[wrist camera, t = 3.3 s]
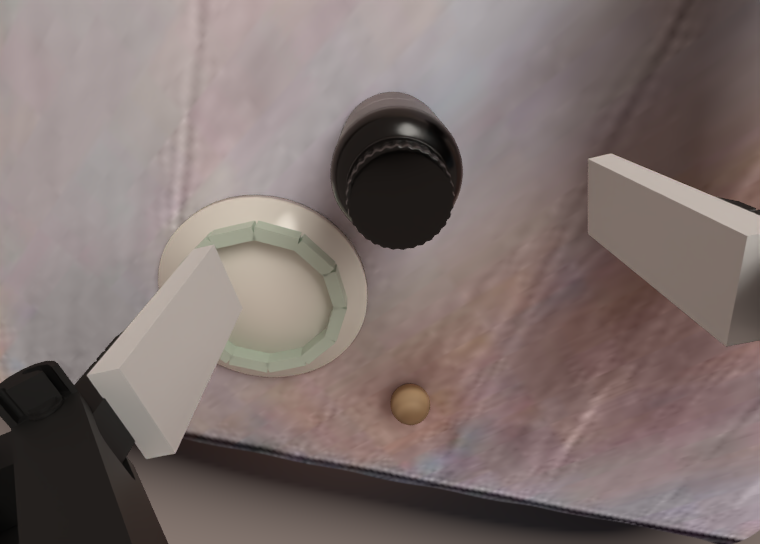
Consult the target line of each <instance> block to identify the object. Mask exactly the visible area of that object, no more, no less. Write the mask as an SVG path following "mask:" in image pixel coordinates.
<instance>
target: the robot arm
mask: <svg viewBox="0 0 760 544" xmlns="http://www.w3.org/2000/svg"><path fill="white" fill-rule="evenodd" d="M588 234H589V235H590V236H591V237H593V238H594V239H595V240H596V241H597V242H599V243H600V244H601V245H602V246H604V247H605V248H606V249H607V250H608V251H610V252H611V253H612V254H613V255H615V256H616V257H617V258H618V259H619V260H621V261H622V262H623V263H624V264H626V265H627V266H628V267H629V268H630V269H632V270H633V271H634V272H635V273H637V274H638V275H639V276H640V277H641V278H643V279H644V280H645V281H646V282H648V283H649V284H650V285H651V286H652V287H654V288H655V289H656V290H657V291H659V292H660V293H661V294H662V295H663V296H665V297H666V298H667V299H668V300H670V301H671V302H672V303H673V304H674V305H676V306H677V307H678V308H679V309H681V310H682V311H683V312H684V313H685V314H687V315H688V316H689V317H690V318H692V319H693V320H694V321H695V322H696V323H698V324H699V325H700V326H701V327H703V328H704V329H705V330H706V331H707V332H709V333H710V334H711V335H712V336H714V337H715V338H716V339H717V340H718V341H720V342H721V343H722V344H723V345H725V346H726V347H728V346H733V345H738V344H743V343H748V342H754V341H759V340H760V210H756V208H754V207H751V206H749V205H746V204H744V203H741V202H739V201H734V200H729V199H724V198H718V197H714V196H712V195H710V194H707V193H705V192H702V191H700V190H698V189H695V188H693V187H690V186H688V185H686V184H683V183H681V182H678V181H676V180H674V179H671V178H669V177H666V176H664V175H662V174H659V173H657V172H655V171H652V170H650V169H647V168H645V167H643V166H640V165H638V164H635V163H633V162H631V161H628V160H626V159H623V158H621V157H619V156H616V155H614V154H606V155H602V156H598V157H593V158H589V159H588ZM242 309H243V308H242V306H241V303H240V301H239V299H238V297H237V295H236V292H235V290H234V288H233V286H232V283H231V281H230V279H229V277H228V274H227V272H226V270H225V268H224V266H223V263H222V261H221V259H220V257H219V254H218V252H217V250H216V248H215V245H209V246H205V247H200V248H196V249H193V250H192V252H191V253H190V254H189V255H188V256H187V257H186V259H185V260H184V261H183V262H182V263H181V265H180V266H179V267H178V268H177V269H176V270H175V272H174V273H173V274H172V275H171V276H170V278H169V279H168V280H167V281H166V282H165V283H164V285H163V286H162V287H161V288H160V289H159V291H158V292H157V293H156V294H155V295H154V296H153V298H152V299H151V300H150V301H149V302H148V303H147V305H146V306H145V307H144V308H143V309H142V311H141V312H140V313H139V314H138V315H137V316H136V318H135V319H134V320H133V321H132V322H131V324H130V325H129V326H128V327H127V328H126V329H125V330H124V331H123V332H122V333H120V334H119V335H118V336H117V337H115V338H114V340H113V341H112V342H111V343H110V344H109V345H108V347H107V348H106V349H105V351H104V352H102V353H101V355H100V356H99V357H98V358H97V361H96V362H94V363H93V364H92V365H91V366H90V367H89V369H88V370H87V371H86V372H85V373H84V374H83V376H82V377H81V378H80V379H79V380H78V381H77V383H76V384H75V385H73V383H72V382H71V381H70V379H69V378H68V377H67V375H66V374H65V373H64V371H63V370H62V369H61V367H60V366H59V365H58V363H56V362H55V361H44V362H41V363H37V364H34V365H32V366H29V367H27V368H25V369H22V370H21V371H19V372H17V373H15V374H14V375H12V376H10V377H8V378H7V379H6V380H4V381H3V382H2V383H0V416H1V418H3V420H4V421H5V422H6V423H7V424H8V425H9V427H10V428H11V432H8V433H6V434H3V435H1V436H0V544H168V542H167V540H166V537H165V535H164V533H163V531H162V528H161V526H160V524H159V522H158V520H157V517H156V515H155V513H154V510H153V508H152V506H151V503H150V501H149V499H148V497H147V494H146V492H145V490H144V488H143V485H142V483H141V481H140V479H139V477H138V474H137V472H136V470H135V467H134V465H133V464H132V463H131V461H130V460H129V459H128V457H127V455H128V453H129V451H130V449H131V448H132V446H133V444H134V442H135V444H136V445H137V446H138V448H139V449H140V451H141V452H142V453H143V455H144V456H145V458H146V459H149V458H154V457H159V456H164V455H169V454H175V453H176V451H177V449H178V446H179V444H180V442H181V440H182V438H183V436H184V434H185V432H186V429H187V427H188V425H189V423H190V421H191V419H192V417H193V414H194V412H195V410H196V408H197V406H198V404H199V401H200V399H201V397H202V395H203V393H204V391H205V388H206V386H207V384H208V382H209V380H210V378H211V376H212V373H213V371H214V369H215V367H216V365H217V363H218V360H219V358H220V356H221V354H222V352H223V350H224V348H225V345H226V343H227V341H228V339H229V337H230V335H231V332H232V330H233V328H234V326H235V324H236V322H237V320H238V317H239V315H240V313H241V311H242Z"/></svg>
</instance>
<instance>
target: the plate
mask: <svg viewBox="0 0 760 544" xmlns="http://www.w3.org/2000/svg"><path fill="white" fill-rule="evenodd" d="M209 245H215V248H216V250H217V252H218V254H219V257H220V259H221V261H222V263H223V266H224V268H225V270H226V272H227V274H228V277H229V279H230V281H231V283H232V286H233V288H234V290H235V292H236V295H237V297H238V299H239V301H240V303H241V306H242V308H243V309H242V311H241V313H240V315H239V317H238V320H237V322H236V324H235V326H234V328H233V330H232V332H231V335H230V337H229V339H228V341H227V343H226V345H225V348H224V350H223V352H222V354H221V356H220V358H219V360H218V363H217V364H219V365H221V366H223V367H226V368H229V369H231V370H234V371H237V372H241V373H244V374H248V375H254V376H261V377H287V376H294V375H299V374H303V373H307V372H310V371H313V370H315V369H318V368H320V367H322V366H324V365H326V364H328V363H330V362H331V361H333V360H334V359H336V358H337V357H338V356H339V355H341V354H342V353H343V352H344V351H345V350H346V349H347V348H348V347H349V346H350V344H351V343H352V342H353V341H354V339H355V338H356V336H357V334H358V333H359V331H360V329H361V326H362V324H363V321H364V318H365V314H366V308H367V281H366V276H365V271H364V268H363V265H362V262H361V260H360V258H359V256H358V254H357V252H356V250H355V248H354V247H353V245H352V244H351V243H350V241H349V240H348V238H347V237H346V236H345V235H344V234H343V233H342V232H341V231H340V230H339V228H338V227H336V226H335V225H334V224H333V223H332V222H330V221H329V220H328V219H327V218H325V217H324V216H322V215H321V214H319V213H318V212H316V211H314V210H312V209H310V208H308V207H306V206H304V205H302V204H299V203H296V202H294V201H291V200H288V199H283V198H279V197H274V196H265V195H242V196H236V197H230V198H226V199H223V200H220V201H217V202H214V203H212V204H210V205H208V206H206V207H204V208H202V209H201V210H199V211H198V212H196V213H195V214H193V215H192V216H191V217H190V218H189V219H187V220H186V221H185V222H184V223H183V224H182V225H181V226H180V227H179V228H178V229H177V230H176V231H175V233H174V234H173V235H172V237H171V238H170V239H169V241H168V243H167V245H166V247H165V249H164V251H163V254H162V257H161V260H160V265H159V271H158V286H159V289H160V288H161V287H162V286H163V285H164V283H165V282H166V281H167V280H168V279H169V278H170V276H171V275H172V274H173V273H174V272H175V270H176V269H177V268H178V267H179V266H180V265H181V263H182V262H183V261H184V260H185V259H186V257H187V256H188V255H189V254H190V253H191V252H192V250H193V249H196V248H200V247H205V246H209Z"/></svg>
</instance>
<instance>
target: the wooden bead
mask: <svg viewBox="0 0 760 544" xmlns="http://www.w3.org/2000/svg"><path fill="white" fill-rule="evenodd" d="M391 410H392V413H393V415H394V416H395V418H396V419H397V420H398V421H400V422H401V423H403V424H406V425H415V424H418V423H420V422H422V421H423V420H424V419H425V418H426V417H427V415H428V413H429V410H430V400H429V397H428V395H427V393H426V392H425V390H424V389H423V388H421V387H420V386H418V385H415V384H405V385H402V386H400V387H399V388H397V389H396V390H395V392H394V393H393V395H392V398H391Z"/></svg>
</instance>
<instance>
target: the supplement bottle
mask: <svg viewBox="0 0 760 544" xmlns="http://www.w3.org/2000/svg"><path fill="white" fill-rule="evenodd" d="M462 177H463V166H462V159H461V155H460V152H459V149H458V146H457V144H456V142H455V140H454V138H453V136H452V135H451V133H450V132H449V131H448V129H447V128H446V127H445V126H444V124H443V123H442V122H441V121H440V120H439V119H438V117H437V116H436V115H435V114H434V113H433V112H432V111H431V109H430V108H429V107H428V106H427V105H425V104H424V103H423V102H422V101H420V100H419V99H417V98H415V97H413V96H411V95H408V94H405V93H400V92H385V93H380V94H377V95H374V96H372V97H370V98H368V99H366V100H365V101H363V102H362V103H360V104H359V105H358V106H357V107H356V108H355V109H354V110H353V112H352V113H351V114H350V116H349V117H348V119H347V121H346V123H345V125H344V127H343V130H342V132H341V135H340V137H339V140H338V143H337V145H336V148H335V151H334V154H333V158H332V163H331V185H332V190H333V194H334V197H335V199H336V201H337V203H338V205H339V207H340V209H341V210H342V212H343V213H344V214H345V216H346V217H347V218H348V219H349V220H350V221H351V222H352V223H353V225H354V226H356V227H357V230H358V232H359V233H361V234H363V235H364V237H365V239H368V240H371V241H372V243H374V244H378V245H380V246H382V247H383V248H387V247H389V248H391V249H402V250H404V249H406V248H414V247H416V246H417V245H423V244H424V243H425V242H426V241H430V240H432V238H433V237H434V236H435V235H437V234H439V232H440V230H441V228H443V227H444V226H445V225H446V221H447V219H449V217H450V215H451V213H450V211H451V210H452V208H453V206H454V204H455V202H456V200H457V198H458V195H459V192H460V189H461V184H462Z"/></svg>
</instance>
